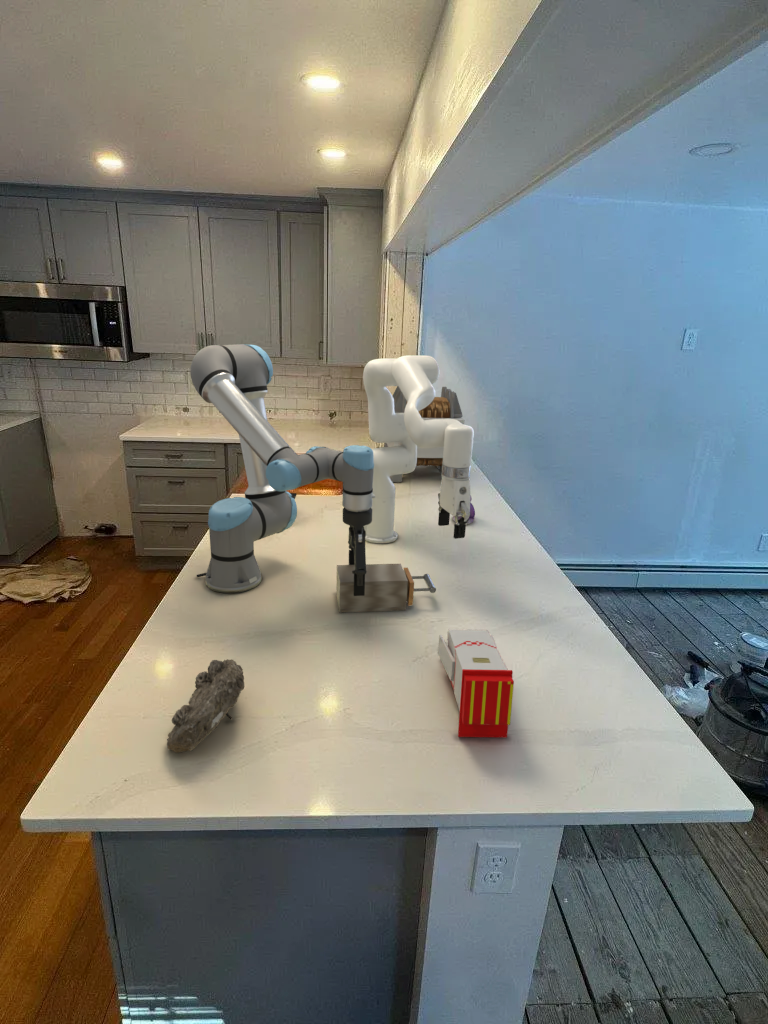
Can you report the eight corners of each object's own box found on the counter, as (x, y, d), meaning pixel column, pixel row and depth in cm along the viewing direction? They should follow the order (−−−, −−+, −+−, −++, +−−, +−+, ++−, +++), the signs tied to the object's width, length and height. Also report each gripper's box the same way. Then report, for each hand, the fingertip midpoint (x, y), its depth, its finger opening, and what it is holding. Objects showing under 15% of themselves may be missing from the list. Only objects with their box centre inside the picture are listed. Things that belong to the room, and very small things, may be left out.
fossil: (192, 660, 117) (244, 628, 112) (224, 691, 120) (276, 661, 115) (142, 746, 98) (202, 712, 93) (182, 779, 101) (242, 748, 96)
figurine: (460, 527, 208) (464, 488, 203) (445, 518, 217) (448, 480, 212) (481, 523, 212) (485, 485, 207) (465, 515, 221) (469, 478, 216)
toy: (488, 613, 130) (523, 677, 101) (484, 667, 133) (517, 744, 104) (435, 612, 130) (455, 676, 101) (432, 666, 133) (451, 743, 103)
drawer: (427, 588, 160) (429, 566, 157) (435, 604, 151) (437, 581, 149) (347, 591, 156) (348, 568, 154) (351, 607, 148) (351, 584, 145)
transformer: (382, 463, 289) (386, 382, 275) (445, 464, 293) (451, 384, 279) (390, 482, 257) (394, 392, 243) (460, 483, 261) (468, 394, 247)
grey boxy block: (399, 591, 159) (400, 563, 156) (405, 610, 150) (407, 580, 147) (336, 593, 156) (336, 565, 153) (339, 612, 147) (339, 582, 144)
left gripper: (379, 524, 132) (376, 605, 139) (366, 492, 155) (364, 563, 162) (347, 525, 131) (346, 606, 138) (338, 492, 154) (338, 563, 161)
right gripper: (484, 479, 144) (478, 541, 150) (454, 462, 159) (449, 519, 165) (457, 481, 142) (452, 544, 147) (429, 464, 157) (426, 521, 163)
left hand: (356, 583), depth 150 cm, fingers open, 13 cm apart
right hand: (451, 531), depth 156 cm, fingers open, 9 cm apart
